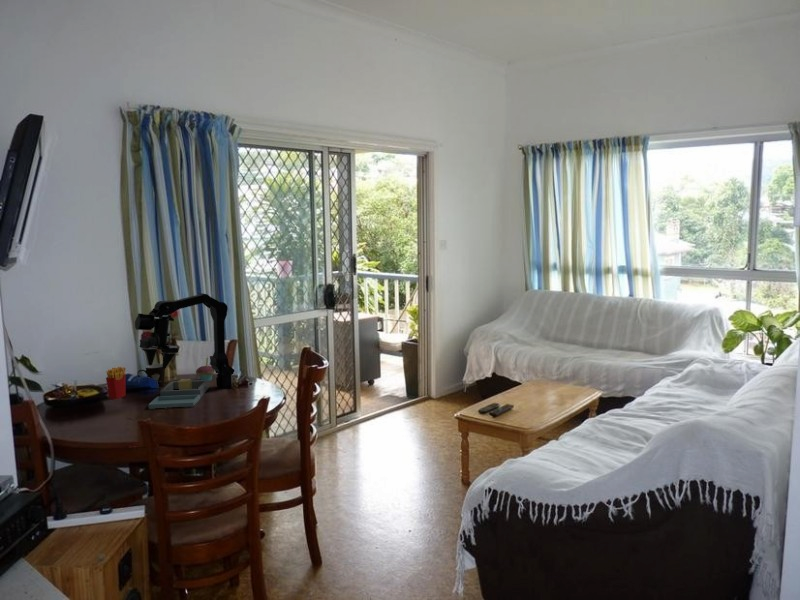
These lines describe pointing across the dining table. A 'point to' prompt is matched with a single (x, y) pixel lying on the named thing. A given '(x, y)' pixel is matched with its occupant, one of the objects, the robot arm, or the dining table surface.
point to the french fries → (116, 382)
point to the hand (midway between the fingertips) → (157, 367)
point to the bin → (199, 384)
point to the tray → (174, 401)
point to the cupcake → (205, 371)
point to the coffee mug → (155, 373)
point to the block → (185, 384)
